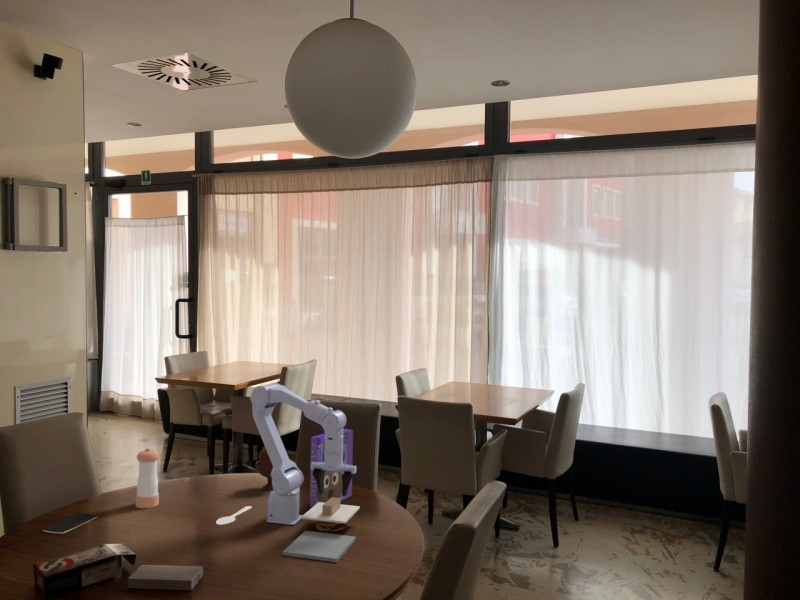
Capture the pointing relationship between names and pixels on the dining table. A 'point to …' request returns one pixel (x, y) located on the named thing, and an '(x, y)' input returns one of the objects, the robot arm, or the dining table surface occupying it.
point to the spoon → (231, 517)
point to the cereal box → (331, 478)
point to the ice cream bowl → (265, 468)
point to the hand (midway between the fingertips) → (332, 494)
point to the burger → (329, 526)
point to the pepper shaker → (147, 479)
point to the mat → (319, 546)
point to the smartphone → (69, 523)
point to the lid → (331, 511)
